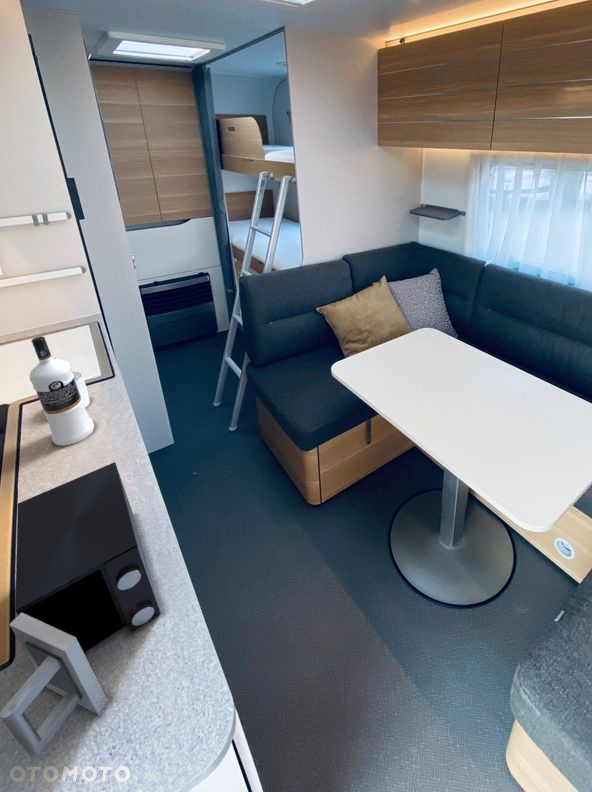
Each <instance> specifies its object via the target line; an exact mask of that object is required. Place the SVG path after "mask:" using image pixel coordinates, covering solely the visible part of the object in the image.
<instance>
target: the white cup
mask: <svg viewBox="0 0 592 792" xmlns="http://www.w3.org/2000/svg"><path fill="white" fill-rule="evenodd" d="M72 373H73V374H74V379H75V382H76V385H77V388H78V390H79V393H80V396H81V398H82V399H83V404H84V407H85V408H87V407H88V406H89V405H90V402H91V401H90V400H91V399H90V396H89V392H88V388H87V387H88V386H87V384H86V381H85V377H84V374H83V372H81V371H72Z"/></svg>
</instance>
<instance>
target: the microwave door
mask: <svg viewBox="0 0 592 792" xmlns="http://www.w3.org/2000/svg"><path fill="white" fill-rule="evenodd" d="M9 627H10V628H11V630H12V632H13V634H14V636H15V637H16V639H17V640H18V642H19V643H20V645H21V648H23V650H24V652H25V653H26V655H27V657H28V659H29V660H30V662H31V664H32V665H33V667H34V669H35V671H34V672H33V673H32V674H31V675H30V676H29V677H28V679H27V680H26V681H25V682H24V683H23V684H22V685H21V687H20V688H19V689H18V690H17V691H16V693H14V695H13V696H12V697H11V698H10V699H9V700H8V702H7V703H6V704H5V705H3V707H2V708H1V710H0V719H1V720H2V722H3V723H4V724H5V726H6V728H8V730H9V731H10V733H11V734H12V736H13V737H14V739H15V740H16V741H17V743H18V745H20V747H21V749H22V750H23V751H24V752H25V754H26V756H28V758H29V759H31V760H32V759H36V758H38V757H39V756H40V755H41V754H42V752H43V751H44V750H45V748H46V747H47V746H48V744H49V743H50V742H51V740H52V739H53V737H55V734H57V732H58V731H59V730H60V728H61V727H62V726H63V725H64V723H65V721H66V720H67V719H68V718H69V716H70V715H71V714H72V712H73V711H74V709H76V707H77V705H79V706H81V707H83V708H85V709H86V710H88V711H90V712H92V713H95V714H96V715H99V714H100V713H101V711H102V710H103V708H104V707H105V705H106V704H107V703H108V701H109V700H108V698H107V695H106V694H105V692H104V690H103V688H102V686H101V684H100V682H99V681H98V678H97V676H96V674H95V672H94V670H93V669H92V666H91V664H90V663H89V661H88V658H87V656H86V655H85V653H84V652H83V650H82V648H81V646H80V644H79V642H78V640H77V638H76V637H74V636H72V635H70V634H68V633H65V632H63V631H61V630H59V629H57V628H55V627H52V626H50V625H48V624H46V623H44V622H42V621H40V620H37V619H35V618H33V617H31V616H29V615H27V614H25V613H22V612H21V613H20V614H19V615H17V616H16V617H15V618H14V619H13V620H12V621H11V622H10V623H9ZM45 687H46V688H47V689H49V690H50V691H53V692H55V693H56V694H58V695H60V696H62V697H61V699H60V700H59V701H58V703H57V704H56V705H55V707H54V708H53V709H52V710H51V712H50V713H49V714H48V716H47V717H46V718H45V719H44V720H43V722H42V723H41V724H40V725H39V727H38V728H37V730H36V728H35V727H34V726H33V724H32V722H31V721H30V720H29V718H28V716H27V715H26V713H25V711H26V710H27V708H28V707H29V706H30V705H31V703H33V701H34V700H35V699H36V697H38V695H40V693H41V691H43V689H44V688H45Z"/></svg>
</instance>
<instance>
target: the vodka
mask: <svg viewBox="0 0 592 792" xmlns="http://www.w3.org/2000/svg"><path fill="white" fill-rule="evenodd" d="M31 344H32V346H33V348H34V351H35V354H36V357H37V359H38V362H39V363H37V364H36V365H35V366H34V367H33V368H32V369H31V371H30V372H29V381H30V382H31V384H32V387H33V390H34V391H35V392H36V395H37V397H38V399H39V402H40V405H41V407H42V410H43V415H44V416H45V418H46V420H47V422H48V425H49V429H50V433H51V434H50V437H51V441H52V443H54V444H55V445H56V446H62V447H66V446H70V445H74V444H77V443H79V442H81V441H83V440H84V439H86V438H88V437H89V436H90V435H91V434H92V433H93V431H94V429H95V424H94V421H93V419H92V418H91V417H90V416H89V414H88V411H87V409H86V407H84V404H83V399H82V398H81V396H80V393H79V390H78V388H77V385H76V382H75V379H74V374H73V373H72V372H73V370H72V366H71V364H70V363H69V362H68V361H66V360H65V359H59V358H53V356H52V353H51V351H50V348H49V346H48V342H47V341H46V338H45V336H42V335H40V336H36V337H34V338H32V339H31Z"/></svg>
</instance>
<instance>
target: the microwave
mask: <svg viewBox="0 0 592 792" xmlns="http://www.w3.org/2000/svg"><path fill="white" fill-rule="evenodd" d="M16 516H17V518H16V519H17V521H16V522H17V523H16V558H15V561H16V565H15V566H16V567H15V600H14V601H15V603H14V605H15V606H14V608H15V609H14V611H15V613H16V614H17V616H18V615H19V614H20V613H21V612H22V613H25V614H27V615H29V616H31V617H33V618H35V619H37V620H40V621H42V622H44V623H46V624H48V625H50V626H52V627H55V628H57V629H59V630H61V631H63V632H65V633H68V634H70V635H72V636H74V637H76V638H77V640H78V642H79V644H80V646H81V648H82V650H83V652H84V654H85V653H87V652H88V651H90V650H91V649H93V648H94V647H96V646H98V645H99V644H101V643H102V642H104V641H105V640H107V639H109V638H110V637H112V636H113V635H115V634H117V633H118V632H120V631H121V630H123V629H124V628H126V627H127V626H128V629H129V631H130V633H134V632H135V631H136V630H138V629H140V628H142V627H143V626H145V625H146V624H148V623H149V622H151V621H152V620H154V619H155V618H157V617H158V616H160V615H161V614H162V612H161V609H160V604H159V602H158V601H159V600H158V598H157V597H158V596H157V594H156V591H155V587H154V583H153V580H152V576H151V572H150V568H149V566H148V562H147V558H146V555H145V554H146V553H145V551H144V547H143V544H142V540H141V537H140V533H139V529H138V525H137V521H136V518H135V516H134V512H133V509H132V507H131V504H130V501H129V498H128V496H127V492H126V489H125V486H124V483H123V480H122V478H121V474H120V472H119V469H118V465H117V463H116V462H115V461H113V462H112V463H108V464H106V465H105V466H102V467H100V468H98V469H94V470H93V471H90V472H88V473H86V474H83V475H81V476H79V477H76V478H74V479H72V480H69V481H67V482H65V483H61V484H60V485H57V486H55V487H53V488H51V489H47V490H46V491H43V492H42V493H39V494H36V495H34V496H32V497H29V498H27V499H25V500H23V501H20V502H18V503H17V515H16Z"/></svg>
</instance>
